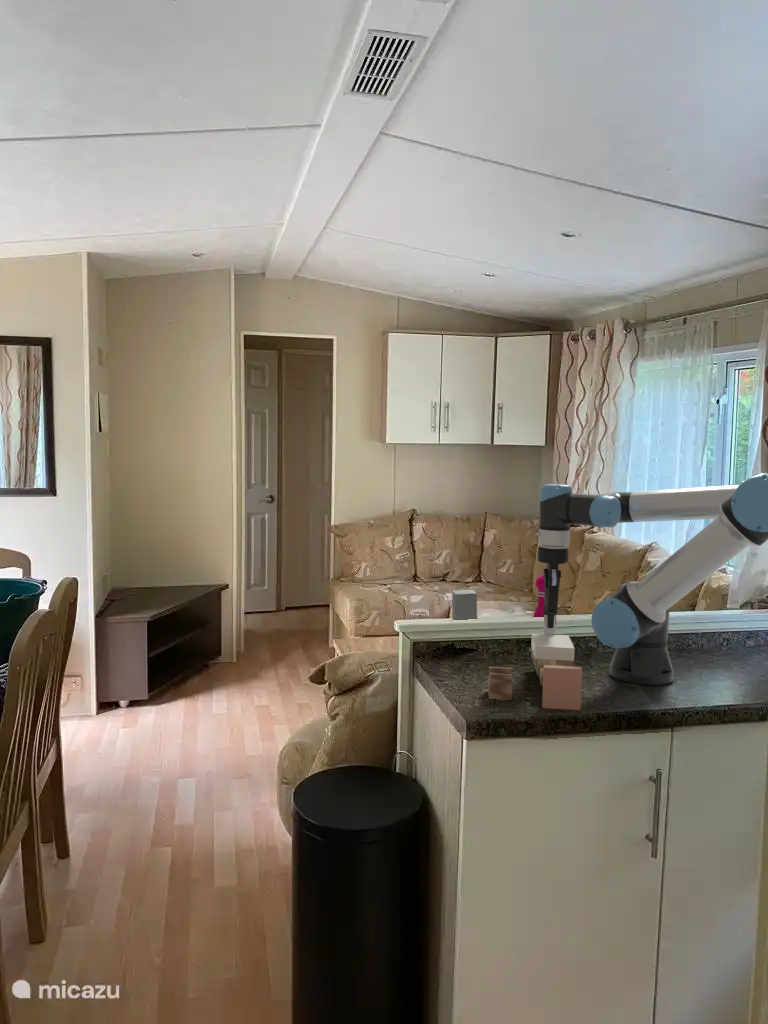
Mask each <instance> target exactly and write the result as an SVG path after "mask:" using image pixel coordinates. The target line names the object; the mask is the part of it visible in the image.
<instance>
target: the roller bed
mask: <svg viewBox="0 0 768 1024" xmlns="http://www.w3.org/2000/svg"><path fill="white" fill-rule="evenodd" d="M530 648H531V649H530V655H531V659H532V663H533V665H534V669H535V670H536V676H538V677H539V678H540V668H544V665H552V666H572V667H574V661H565V660H546V659H535V657H534V654H533V650H532V646H531V647H530ZM541 686H542V687H543V685H541Z"/></svg>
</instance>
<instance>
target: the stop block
mask: <svg viewBox="0 0 768 1024" xmlns="http://www.w3.org/2000/svg"><path fill="white" fill-rule="evenodd" d="M582 681H583V668H582V666H573V667H572V666H552V665H544V671H543V686H542V698H541V707H542V708H543V709H551V710H552V709H553V710H554V709H555V710H556V709H557V710H569V711H571V710H572V711H581V704H582V702H581V701H582V686H583V684H582Z"/></svg>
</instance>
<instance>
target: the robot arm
mask: <svg viewBox="0 0 768 1024" xmlns="http://www.w3.org/2000/svg"><path fill="white" fill-rule="evenodd" d="M572 489H573V487H572V486H571V485H570V484H562V483H561V484H560V483H546V484H544V485H542V486H541V489H540V494H539V495H540V497H539V526H538V531H539V532H536V533H535V536H536V537H538V545H539V546H538V547H537V561H538V562H539V563H542V564H546V568H543V572H544V574H543V575H544V585H545V601H544V609H545V610H544V611H545V612H543V615H545V616H544V634H550V635H556V627H557V623H556V621H557V614H559V611H558V603H559V591H560V583H561V577H562V570H561V569H560V568H559V565H563V564H564V565H565V564H567V563H568V562H569V555H570V553H569V551H570V549H569V548H568V547H569V546H570V540H571V539H570V538H571V537H570V535H571V529H570V528H571V525H578V526H579V525H580V526H587V527H596V528H614V527H616V526H617V524H619V523H620V524H623V523H625V524H627V523H640V522H641V523H643V522H644V523H645V522H666V521H671V522H672V521H694V520H696V521H697V520H712V521H711V522H709V524H707V525H706V526H705V527H703V529H701V530H700V531H699V532H697V534H695V535H694V536H693V537H692V538H691V539H690V540H688V541H687V542H686V543H685V544H683V545H681V547H680V548H679V549H677V550H676V551H675V552H674V553H672V554H671V555H670V556H669V557H668V558H666V560H664V561H663V562H662V563H660V564H659V565H658V566H657V567H656V568H655V569H653V570H652V571H651V572H649V574H648V575H646V576H645V577H643V579H641V580H640V581H632V580H630V581H629V582H627V583H623V584H622V585H621V586H620V587H621V588H620V589H619V590H618V591H616V592H615V593H614V594H613V595H612V596H610V597H609V598H604V599H602V600H601V601H600V602H599V603H597V604H596V606H595V607H594V608H593V610H592V613H591V627H592V630H593V632H594V634H595V636H596V637H597V639H598V640H599V641H600V642H601V643H602V644H604V645H606V646H607V647H609V648H613V649H615V651H614V654H613V657H612V658H611V661H610V663H609V675H610V676H611V677H612V678H614V679H616V680H619V681H622V682H626V683H630V684H637V685H645V686H648V685H649V686H661V685H668V684H671V683H672V682H673V681H674V669H673V665H672V661H671V658H670V654H669V649H668V643H669V642H668V640H669V639H668V638H669V623H670V608H672V607H673V606H674V605H675V604H676V603H678V602H679V601H680V600H682V599H683V598H684V597H685V596H686V595H688V594H689V593H690V592H691V591H693V590H694V589H695V588H697V586H699V585H701V583H703V582H704V581H705V580H706V579H708V578H709V577H710V576H712V575H713V574H715V572H717V571H718V570H719V569H721V568H722V567H723V566H725V565H726V564H727V563H728V562H729V561H730V560H732V559H733V558H734V557H736V556H737V555H738V554H739V553H741V552H742V551H743V550H744V549H746V548H748V547H749V546H751V547H752V546H753V547H760V546H762V545H763V544H764V543H765V542H766V541H768V472H763V473H758V474H754V475H752V476H750V477H748V478H745V479H744V480H743V481H741V483H740V484H732V485H718V486H701V487H688V488H671V489H659V490H658V489H657V490H654V489H653V490H645V491H644V490H643V491H642V490H641V491H627V492H625V491H624V492H612V493H602V494H601V493H598V494H584V493H583V494H581V493H573V490H572Z"/></svg>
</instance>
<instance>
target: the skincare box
mask: <svg viewBox="0 0 768 1024" xmlns="http://www.w3.org/2000/svg"><path fill="white" fill-rule="evenodd" d="M451 593H452V595H451V596H452V599H451V600H452V601H451V602H452V604H451V605H452V606H451V607H452V609H451V610H452V613H451V614H452V621H453V620H468V619H477V620H478V604H477V603H478V602H477V601H478V597H477V596H478V595H477V593H476V590H474V589H453V590H452V592H451Z"/></svg>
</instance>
